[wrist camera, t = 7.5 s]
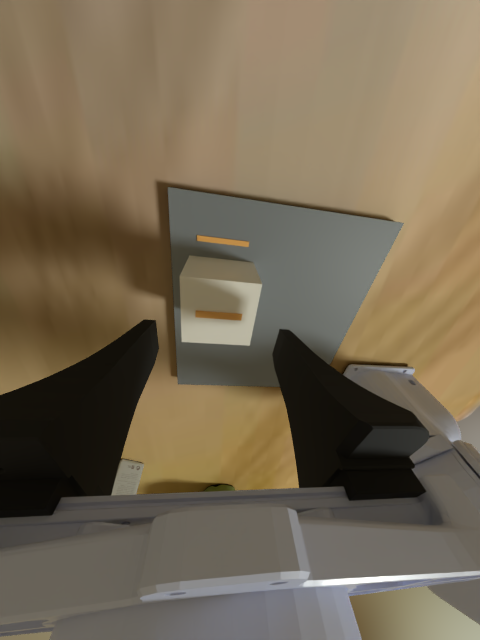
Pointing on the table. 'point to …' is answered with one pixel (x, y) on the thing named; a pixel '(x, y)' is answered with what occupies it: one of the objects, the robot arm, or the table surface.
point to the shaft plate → (275, 277)
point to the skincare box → (127, 477)
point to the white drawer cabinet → (218, 300)
